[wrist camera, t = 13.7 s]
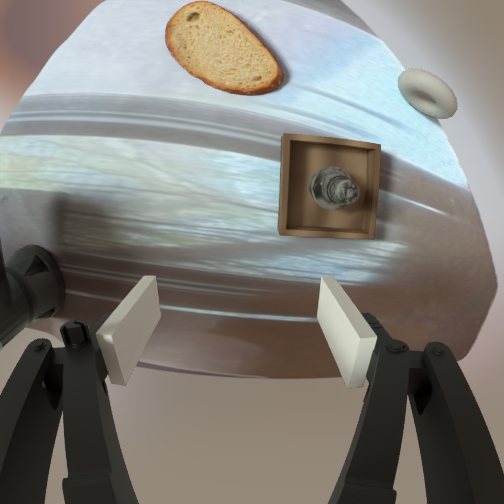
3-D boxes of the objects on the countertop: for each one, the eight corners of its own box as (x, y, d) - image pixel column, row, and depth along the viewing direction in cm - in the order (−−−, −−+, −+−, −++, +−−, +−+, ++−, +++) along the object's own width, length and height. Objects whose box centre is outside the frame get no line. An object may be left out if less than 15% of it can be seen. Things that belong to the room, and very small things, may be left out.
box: (277, 229, 42) (279, 235, 39) (281, 136, 39) (284, 133, 35) (363, 233, 42) (373, 239, 39) (370, 146, 38) (380, 144, 35)
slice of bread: (284, 96, 37) (286, 89, 34) (163, 102, 38) (155, 97, 34) (279, 2, 32) (281, -9, 29) (169, 10, 32) (163, 0, 29)
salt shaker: (353, 188, 40) (387, 196, 28) (325, 214, 41) (350, 232, 29) (327, 158, 39) (354, 154, 27) (298, 185, 40) (314, 191, 28)
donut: (384, 89, 36) (414, 72, 26) (391, 74, 35) (422, 56, 25) (430, 126, 37) (466, 120, 27) (436, 111, 36) (472, 103, 26)
